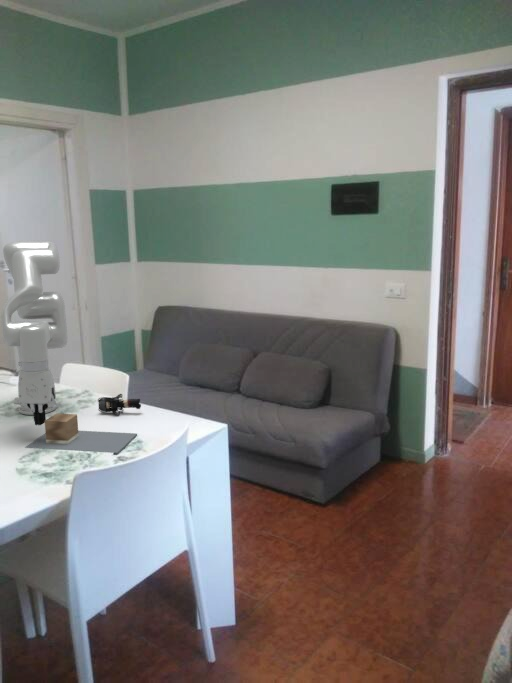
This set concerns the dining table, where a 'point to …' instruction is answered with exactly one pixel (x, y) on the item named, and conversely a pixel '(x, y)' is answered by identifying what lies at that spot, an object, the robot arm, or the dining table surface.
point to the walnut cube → (61, 428)
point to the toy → (117, 404)
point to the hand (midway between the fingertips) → (40, 423)
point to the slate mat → (89, 442)
